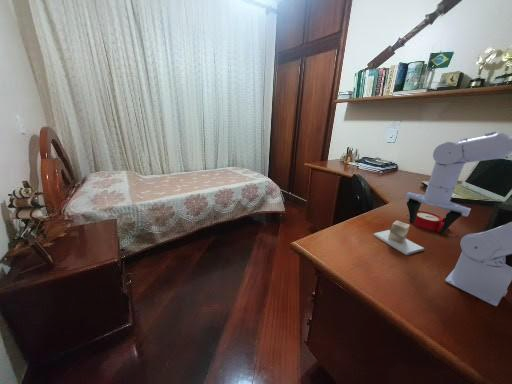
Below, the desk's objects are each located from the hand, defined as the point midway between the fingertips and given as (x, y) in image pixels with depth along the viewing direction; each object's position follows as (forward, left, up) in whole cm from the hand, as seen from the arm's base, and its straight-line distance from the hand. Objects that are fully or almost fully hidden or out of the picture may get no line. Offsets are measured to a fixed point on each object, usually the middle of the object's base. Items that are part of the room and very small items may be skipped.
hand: (426, 228), depth 63 cm
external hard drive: (+7, -2, -10) cm, 12 cm away
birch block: (+7, -2, -8) cm, 11 cm away
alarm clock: (+5, -27, -10) cm, 29 cm away
